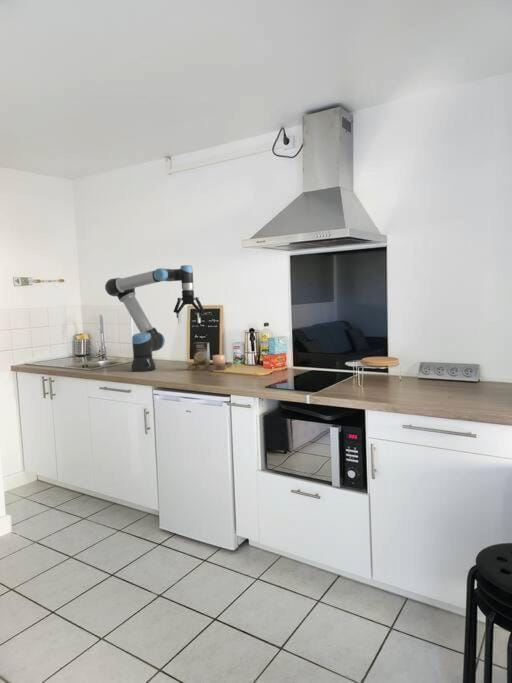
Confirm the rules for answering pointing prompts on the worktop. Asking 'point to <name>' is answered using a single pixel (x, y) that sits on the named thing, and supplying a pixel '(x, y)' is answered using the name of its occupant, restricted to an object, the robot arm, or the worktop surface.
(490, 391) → the worktop surface
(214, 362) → the light brown rounded block
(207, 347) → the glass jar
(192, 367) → the caddy
